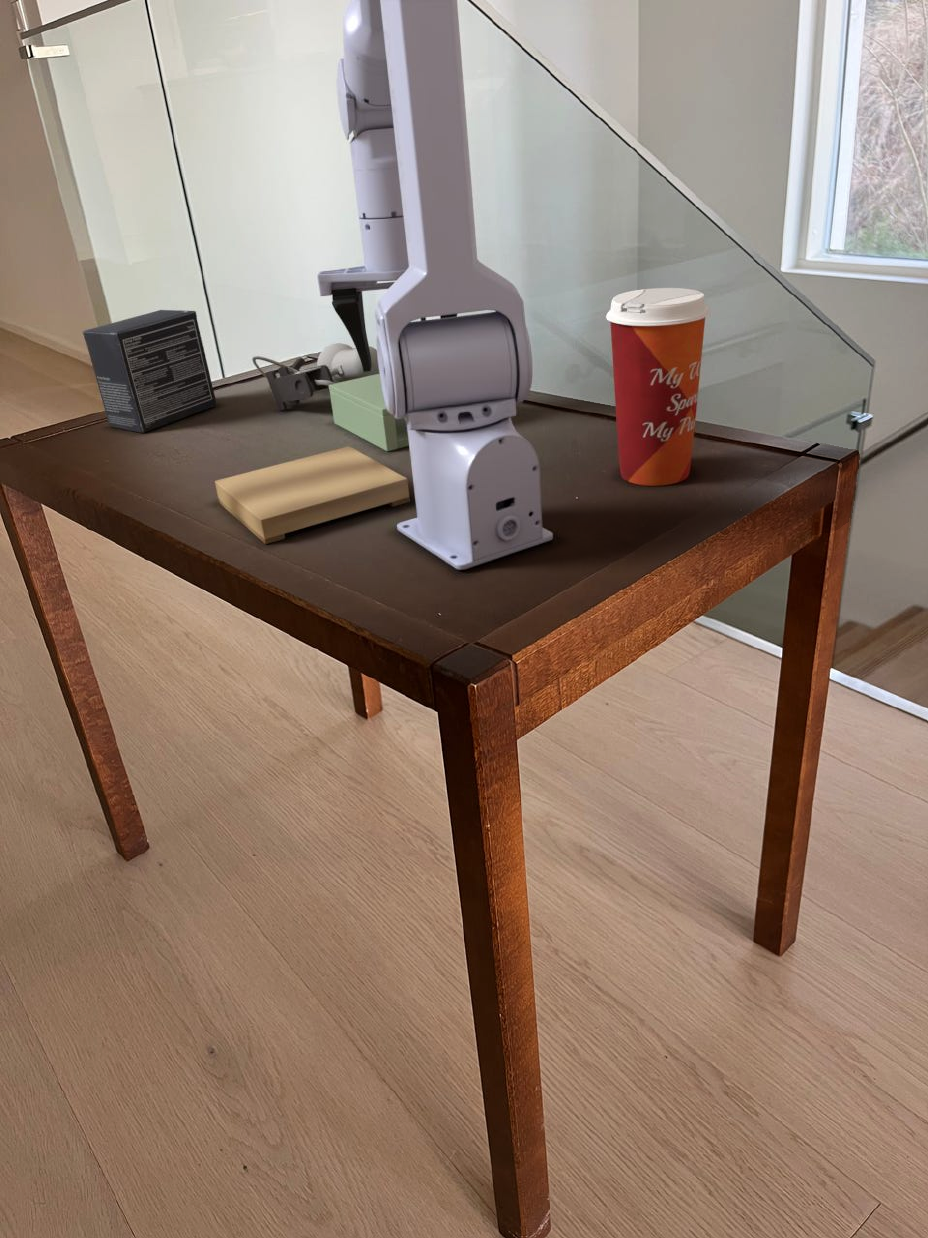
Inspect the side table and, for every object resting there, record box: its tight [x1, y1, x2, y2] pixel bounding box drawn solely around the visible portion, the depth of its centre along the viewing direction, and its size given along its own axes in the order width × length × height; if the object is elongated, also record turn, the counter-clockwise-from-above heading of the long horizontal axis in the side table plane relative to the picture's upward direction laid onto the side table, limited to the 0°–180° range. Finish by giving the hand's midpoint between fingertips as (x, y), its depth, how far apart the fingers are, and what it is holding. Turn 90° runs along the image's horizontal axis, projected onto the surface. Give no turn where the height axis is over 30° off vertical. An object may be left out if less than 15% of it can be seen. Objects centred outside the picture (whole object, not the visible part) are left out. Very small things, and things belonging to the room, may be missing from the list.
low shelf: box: [214, 445, 411, 545], centre depth 78 cm, size 11×12×2 cm
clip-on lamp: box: [251, 342, 380, 412], centre depth 106 cm, size 12×6×18 cm
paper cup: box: [605, 287, 711, 487], centre depth 74 cm, size 8×8×14 cm
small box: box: [82, 309, 218, 434], centre depth 102 cm, size 11×6×10 cm, turn 144°
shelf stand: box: [328, 373, 409, 452], centre depth 94 cm, size 12×12×4 cm
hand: (406, 365), depth 92 cm, fingers open, 7 cm apart
